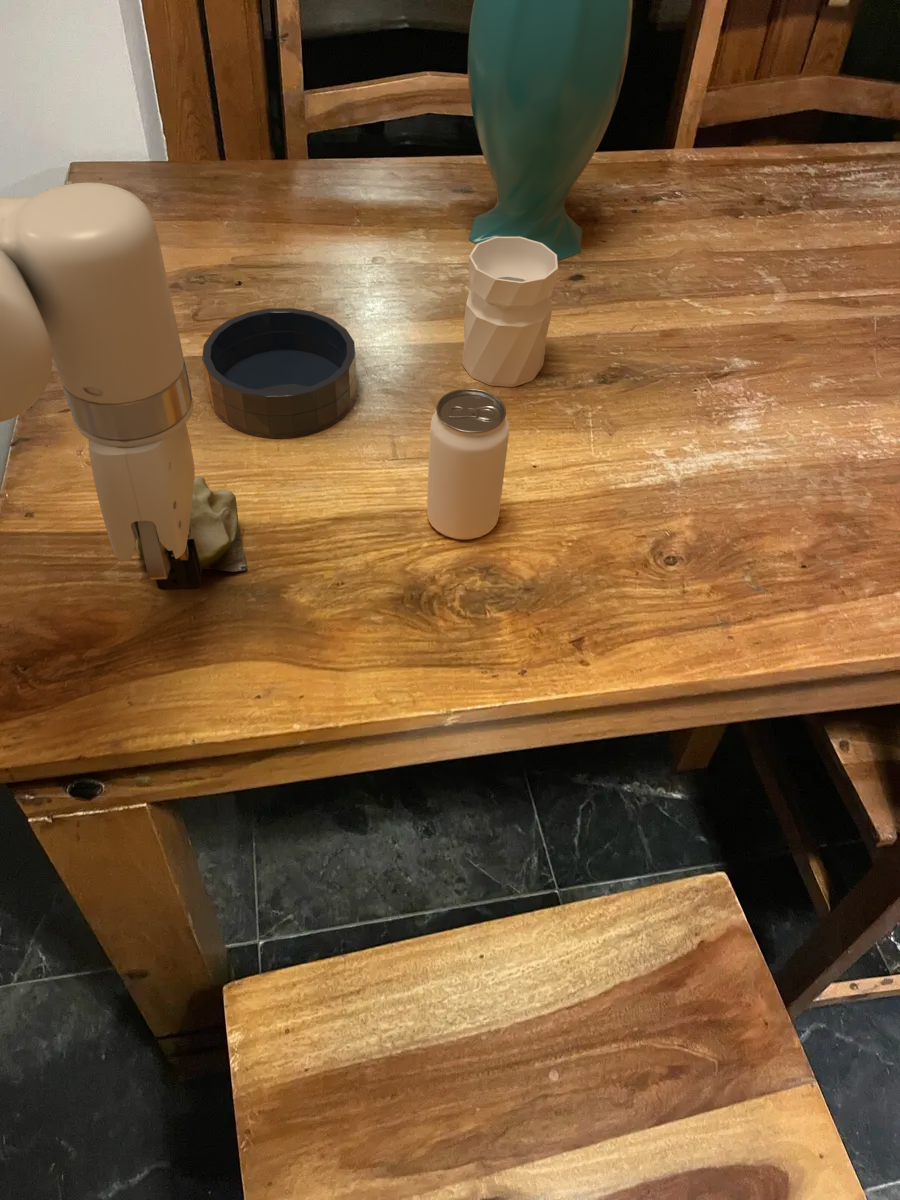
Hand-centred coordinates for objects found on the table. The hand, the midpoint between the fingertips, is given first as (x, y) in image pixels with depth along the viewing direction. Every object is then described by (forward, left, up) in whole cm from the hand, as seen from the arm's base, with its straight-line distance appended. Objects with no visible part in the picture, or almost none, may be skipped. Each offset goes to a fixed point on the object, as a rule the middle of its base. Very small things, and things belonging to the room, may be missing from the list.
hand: (181, 581), depth 73 cm
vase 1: (+38, +59, -3) cm, 70 cm away
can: (+24, +9, -3) cm, 25 cm away
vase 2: (+31, +32, -3) cm, 44 cm away
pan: (+8, +28, -3) cm, 29 cm away
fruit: (0, +6, -3) cm, 7 cm away
